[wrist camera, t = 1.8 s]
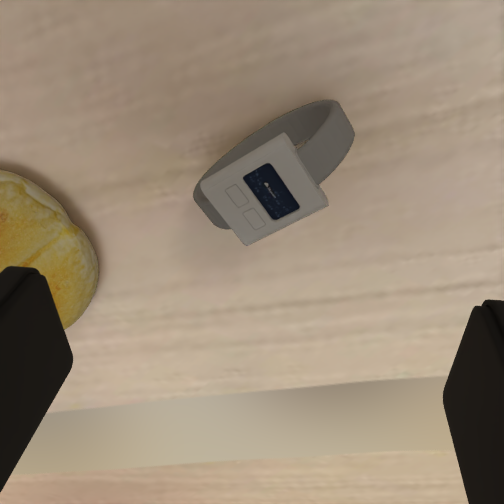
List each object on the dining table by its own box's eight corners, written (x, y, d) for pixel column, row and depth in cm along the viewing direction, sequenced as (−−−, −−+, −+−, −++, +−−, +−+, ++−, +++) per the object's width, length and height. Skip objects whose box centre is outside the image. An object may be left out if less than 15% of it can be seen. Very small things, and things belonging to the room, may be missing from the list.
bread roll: (21, 322, 27) (-20, 376, 24) (-97, 195, 22) (-167, 241, 19) (137, 290, 24) (110, 347, 21) (31, 140, 20) (-25, 183, 16)
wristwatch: (233, 198, 20) (212, 266, 16) (195, 148, 19) (162, 208, 15) (360, 127, 18) (373, 187, 14) (326, 64, 17) (329, 110, 12)
